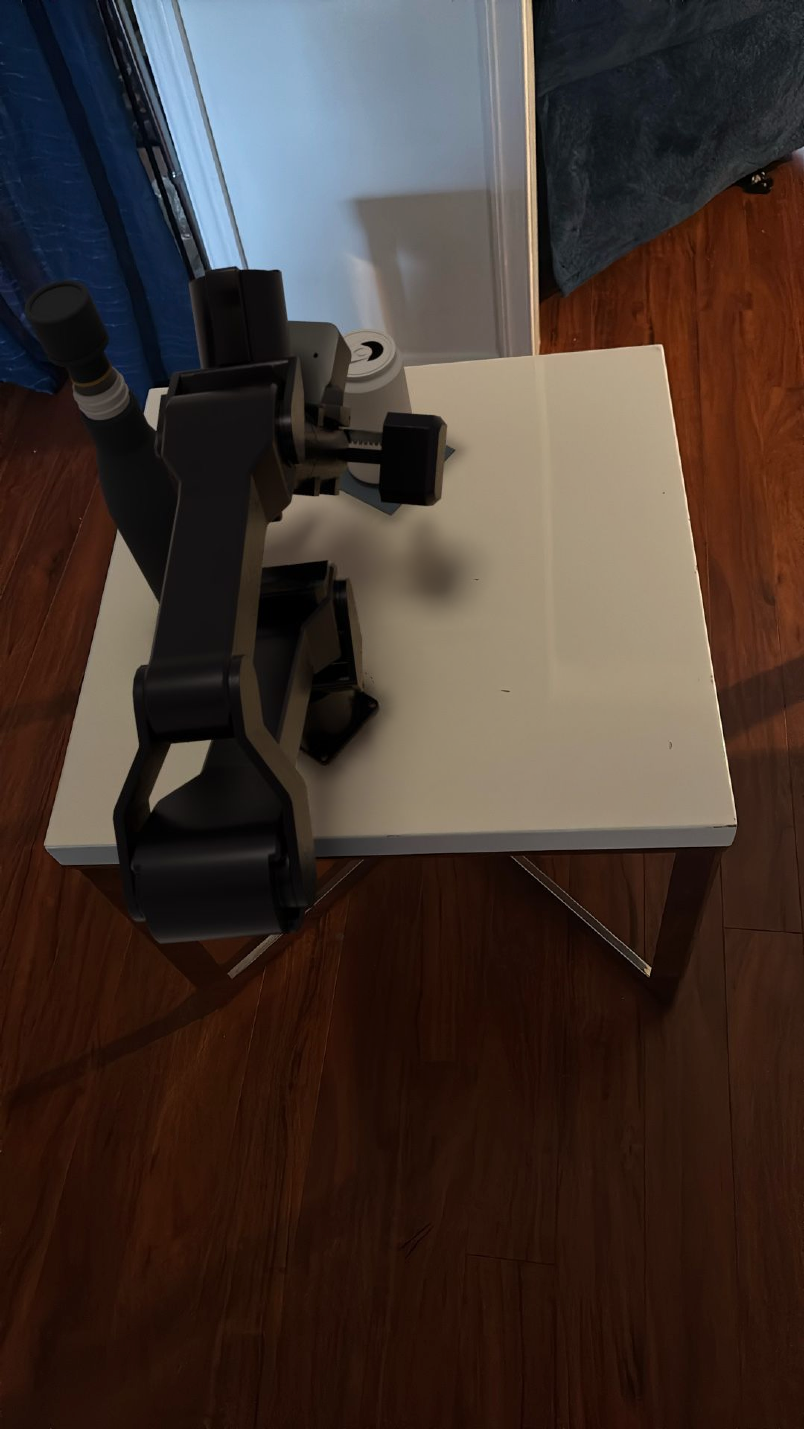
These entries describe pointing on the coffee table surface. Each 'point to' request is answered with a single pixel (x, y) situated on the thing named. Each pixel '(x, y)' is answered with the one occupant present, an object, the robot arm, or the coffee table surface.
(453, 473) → the coffee table surface
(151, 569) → the wine bottle
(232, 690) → the robot arm
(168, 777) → the coffee table surface
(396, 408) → the beverage can
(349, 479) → the felt pad
